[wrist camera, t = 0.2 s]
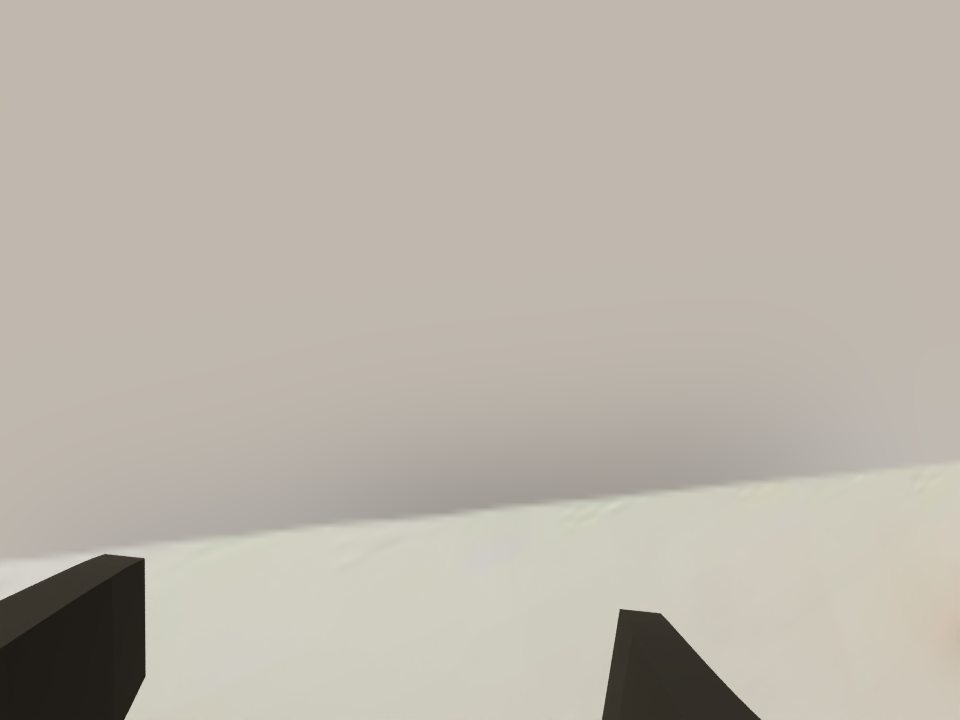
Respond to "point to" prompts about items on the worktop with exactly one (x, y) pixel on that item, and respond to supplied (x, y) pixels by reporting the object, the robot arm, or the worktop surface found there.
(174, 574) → the worktop surface
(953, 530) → the worktop surface
